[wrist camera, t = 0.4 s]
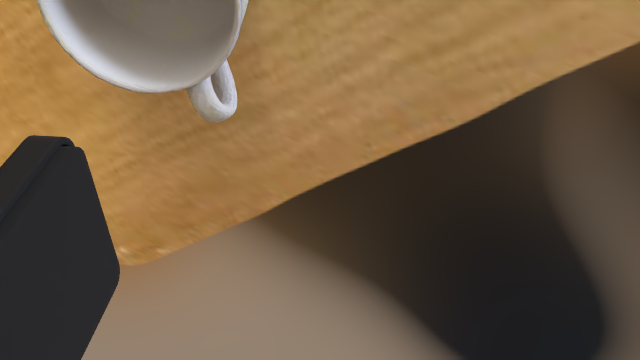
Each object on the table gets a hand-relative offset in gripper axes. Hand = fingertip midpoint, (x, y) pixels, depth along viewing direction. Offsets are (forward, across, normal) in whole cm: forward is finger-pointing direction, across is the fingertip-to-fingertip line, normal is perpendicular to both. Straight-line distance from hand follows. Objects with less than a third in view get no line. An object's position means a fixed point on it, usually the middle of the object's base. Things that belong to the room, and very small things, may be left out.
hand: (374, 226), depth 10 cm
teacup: (+30, +12, +7) cm, 33 cm away
